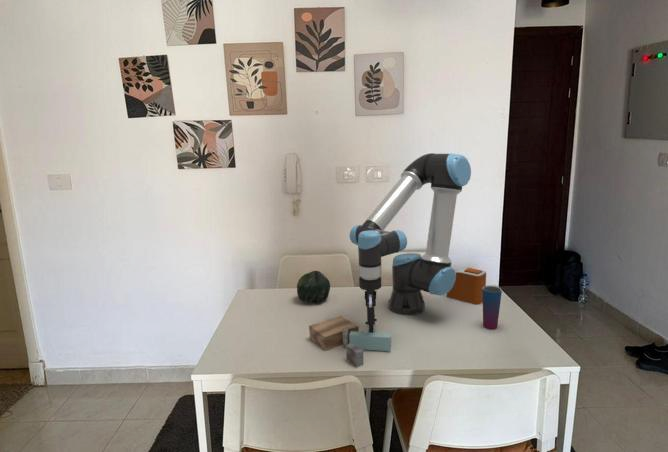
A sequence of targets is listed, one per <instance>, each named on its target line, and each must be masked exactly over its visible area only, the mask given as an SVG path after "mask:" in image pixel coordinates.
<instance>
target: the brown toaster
mask: <svg viewBox="0 0 668 452" xmlns="http://www.w3.org/2000/svg"><path fill="white" fill-rule="evenodd" d="M455 273H456V280H455V283H454V285H453V287H452V289H451V290H450V291H449V292H448V293H447V294H446V298H450V299H451V300H452V299H453V300H456V301H461V302H464V303H468V304H472V305H481V304H483V294H482V288H483V287H484V286H487V271H485V270H482V269H476V268H472V267H464V268H461V269H458V270H457V271H455Z"/></svg>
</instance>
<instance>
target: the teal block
mask: <svg viewBox="0 0 668 452" xmlns="http://www.w3.org/2000/svg"><path fill="white" fill-rule="evenodd" d="M351 343H353V344H354V345H356V346H357V347H359V348H360V349H362V350H363V351H364V350H367V351H380V352H384V351H385V352H391V350H392V333H386V332H375V333H372V332H367V331H359V332H355V331H351V332H350V335H349V344H351Z"/></svg>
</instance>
